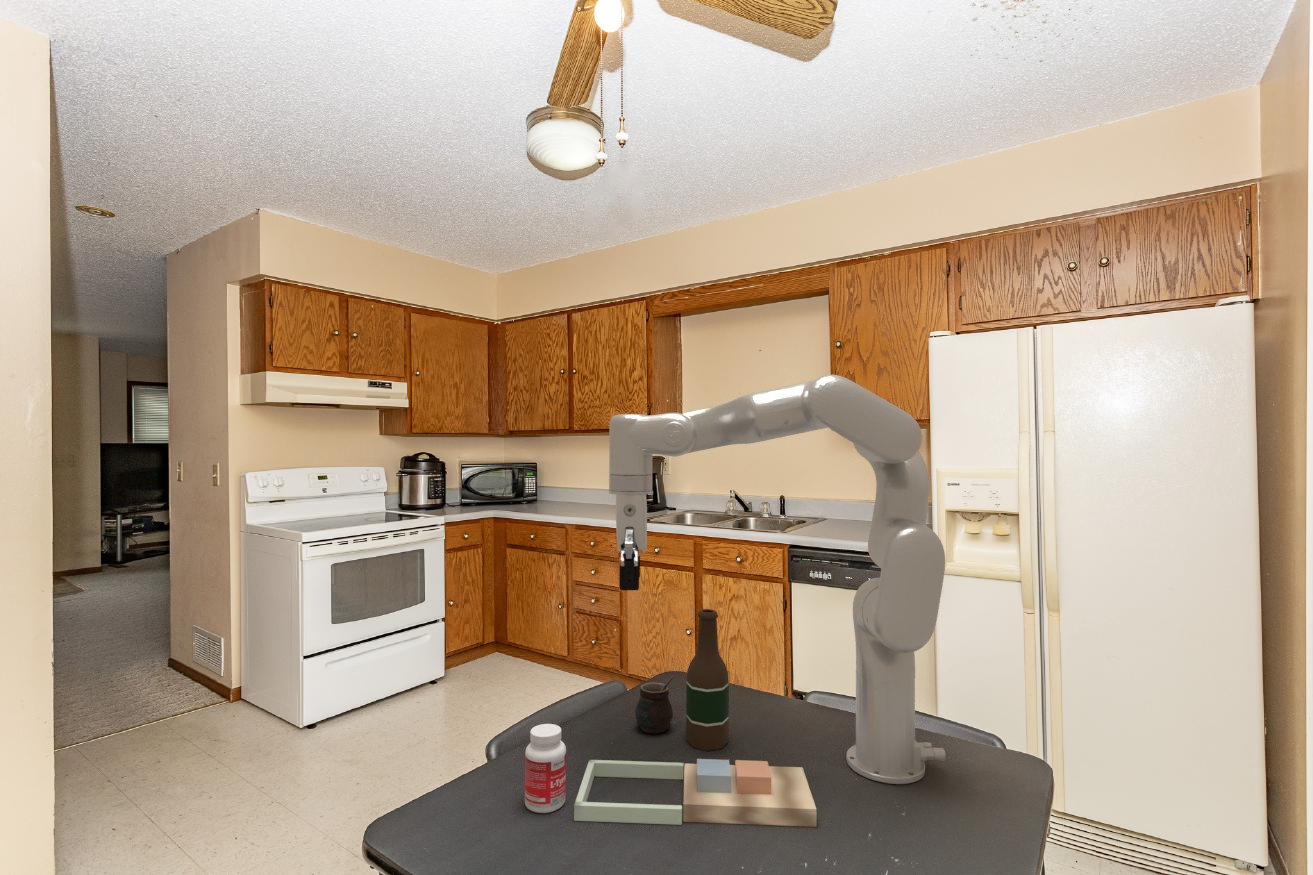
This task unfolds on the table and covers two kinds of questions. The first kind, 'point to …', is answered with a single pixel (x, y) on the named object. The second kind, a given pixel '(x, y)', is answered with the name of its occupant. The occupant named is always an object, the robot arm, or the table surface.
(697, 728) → the beer bottle
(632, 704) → the table surface
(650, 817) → the u-shaped frame
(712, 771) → the slate tile
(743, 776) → the terracotta tile
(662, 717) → the mate gourd
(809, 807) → the wooden cutting board
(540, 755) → the pill bottle
